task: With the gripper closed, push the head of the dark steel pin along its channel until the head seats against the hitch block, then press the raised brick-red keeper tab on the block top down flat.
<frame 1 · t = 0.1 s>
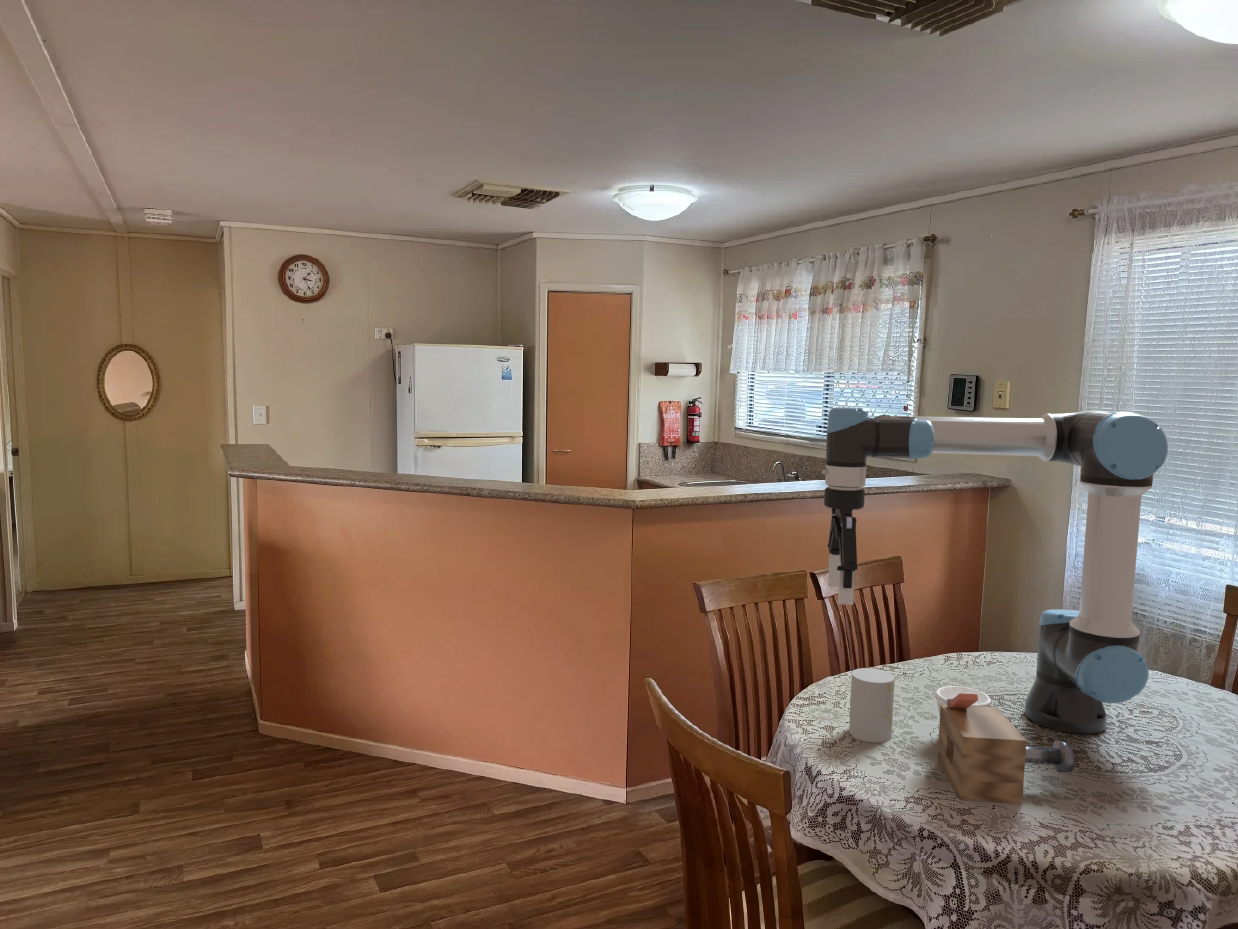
hand: (840, 595, 163), 28 cm above the table, fingers open, 13 cm apart
hitch block: (977, 781, 146), on the table
keeper tab: (962, 700, 148), point 14 cm above the table, hinge at 34.0°
cup: (870, 734, 166), on the table
hitch pin: (1023, 754, 145), point 5 cm above the table, slide at 8.0 cm
cup 2: (960, 742, 163), on the table
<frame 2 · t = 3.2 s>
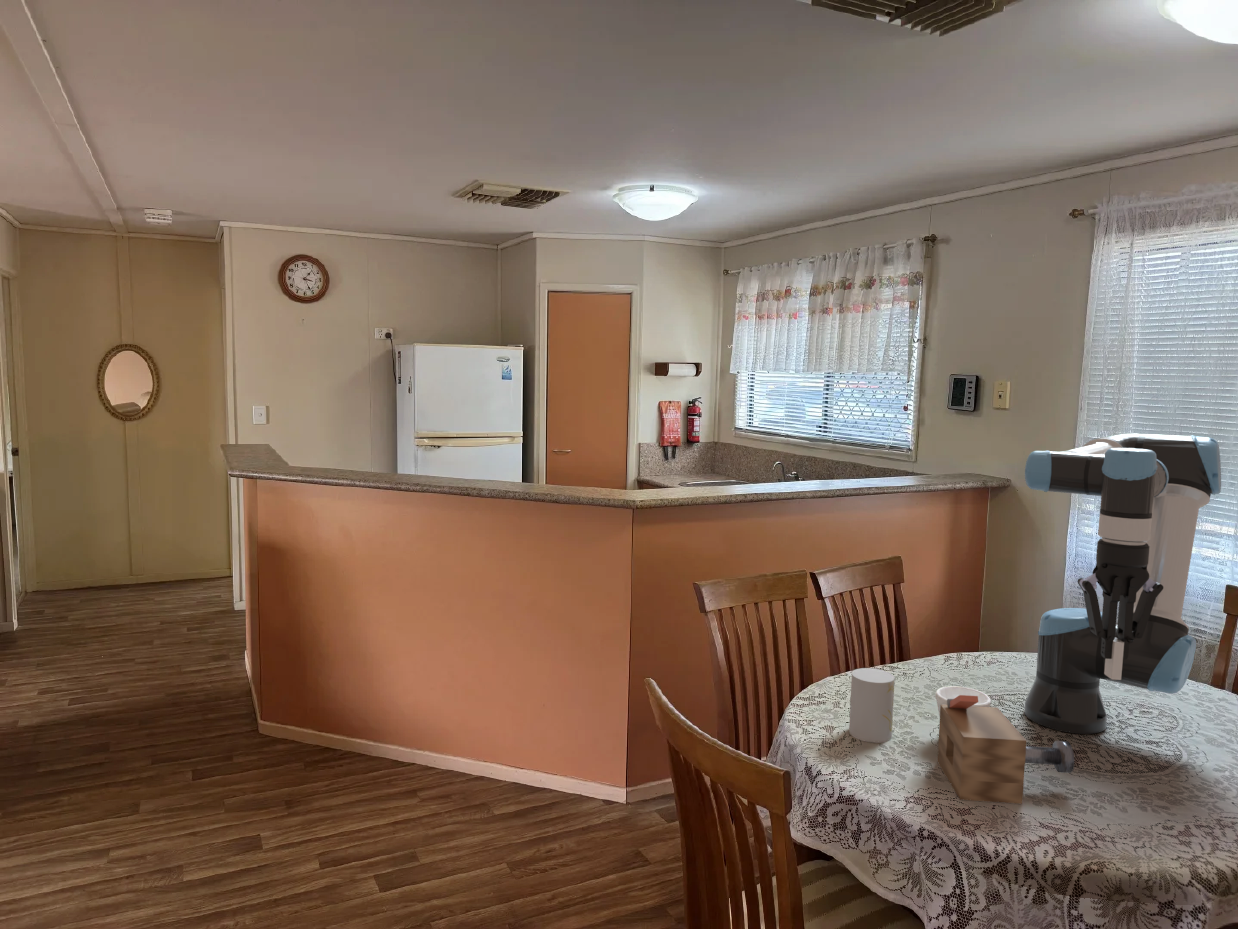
hand: (1112, 676, 142), 20 cm above the table, fingers closed
keeper tab: (962, 700, 148), point 13 cm above the table, hinge at 31.4°
everything else where it was.
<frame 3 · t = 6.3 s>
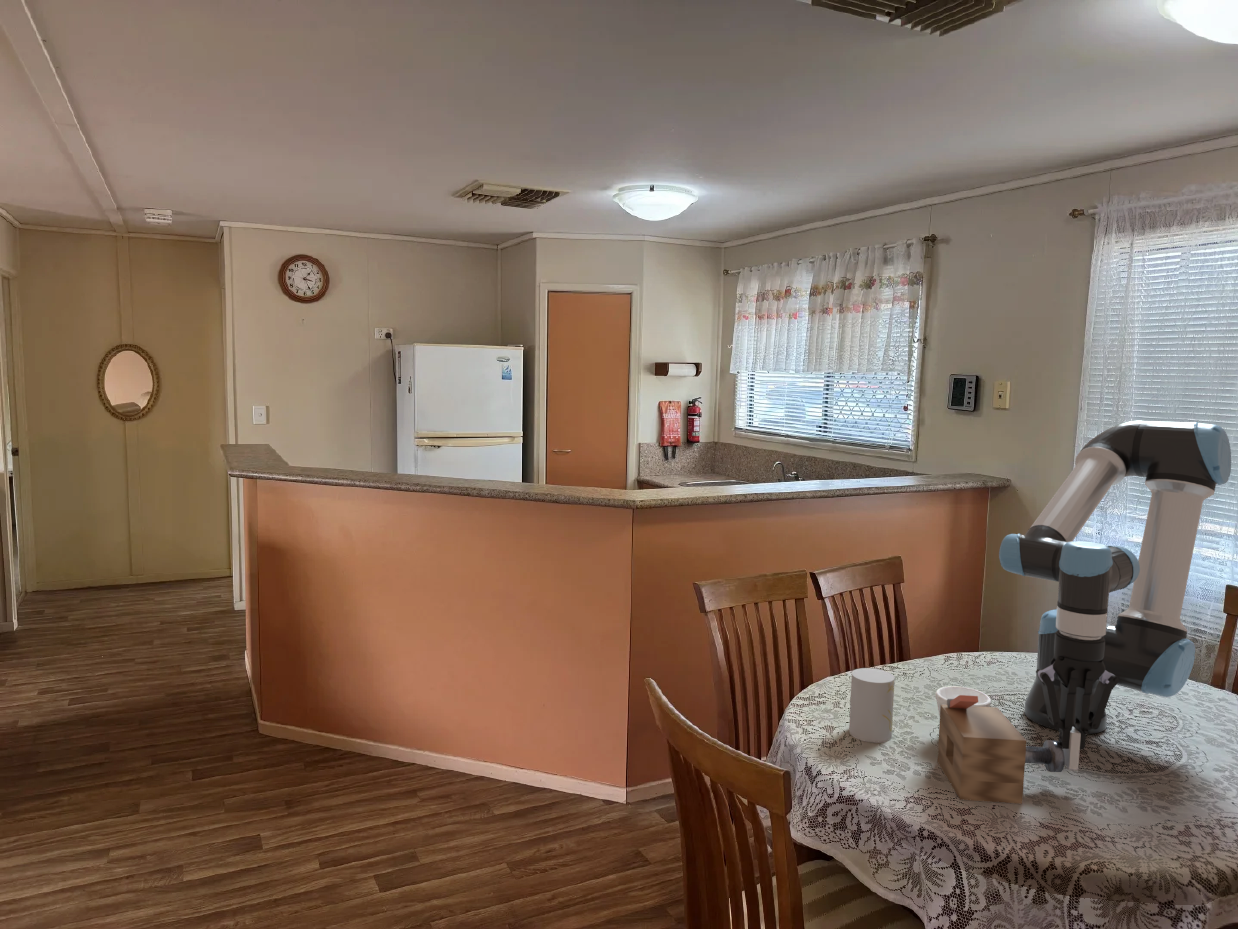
hand: (1070, 766, 144), 4 cm above the table, fingers closed
hitch pin: (1014, 754, 145), point 5 cm above the table, slide at 6.4 cm, touching gripper
everything else where it was.
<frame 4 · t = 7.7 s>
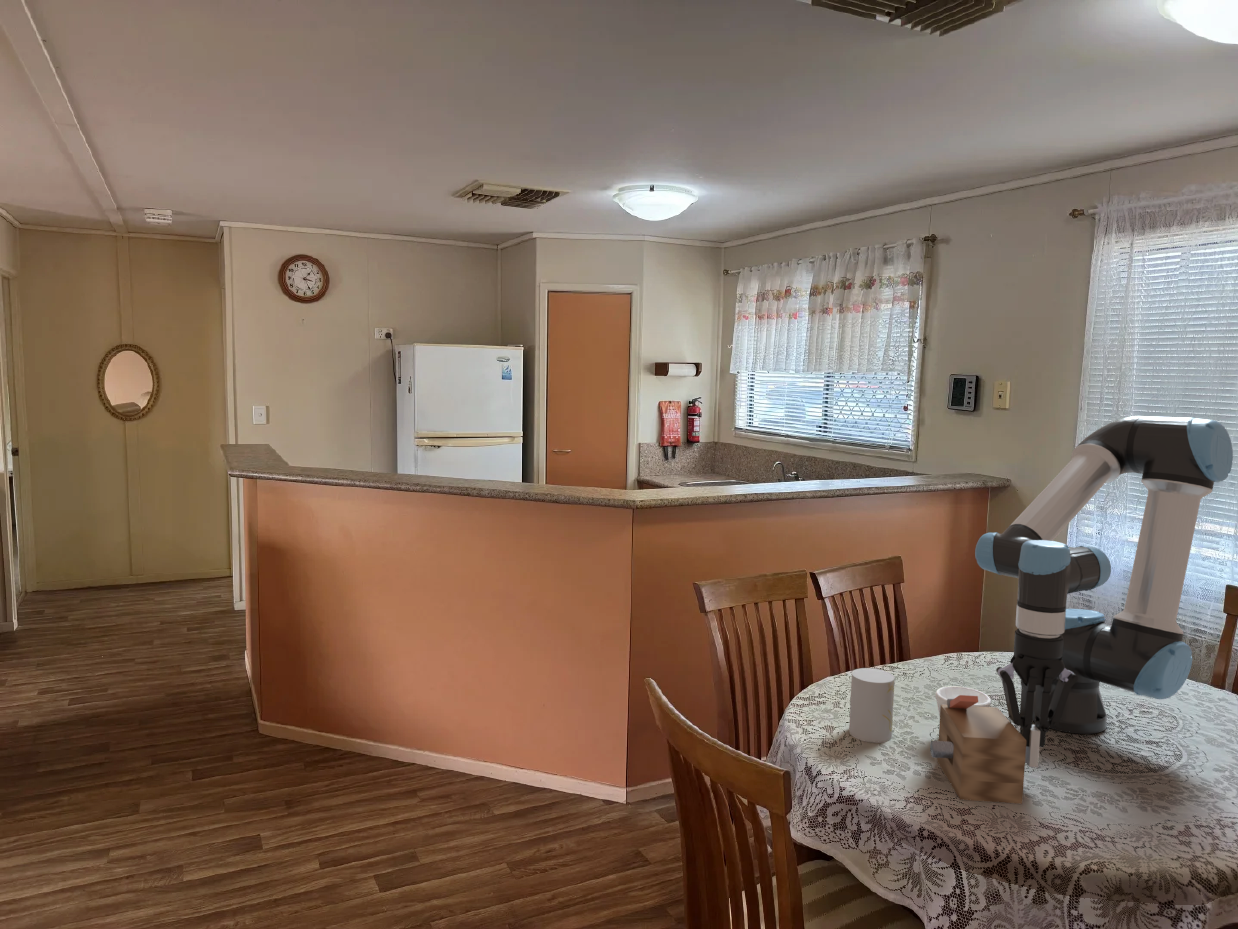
hand: (1030, 763, 145), 4 cm above the table, fingers closed
hitch pin: (975, 751, 146), point 5 cm above the table, slide at -0.1 cm, touching gripper
everything else where it was.
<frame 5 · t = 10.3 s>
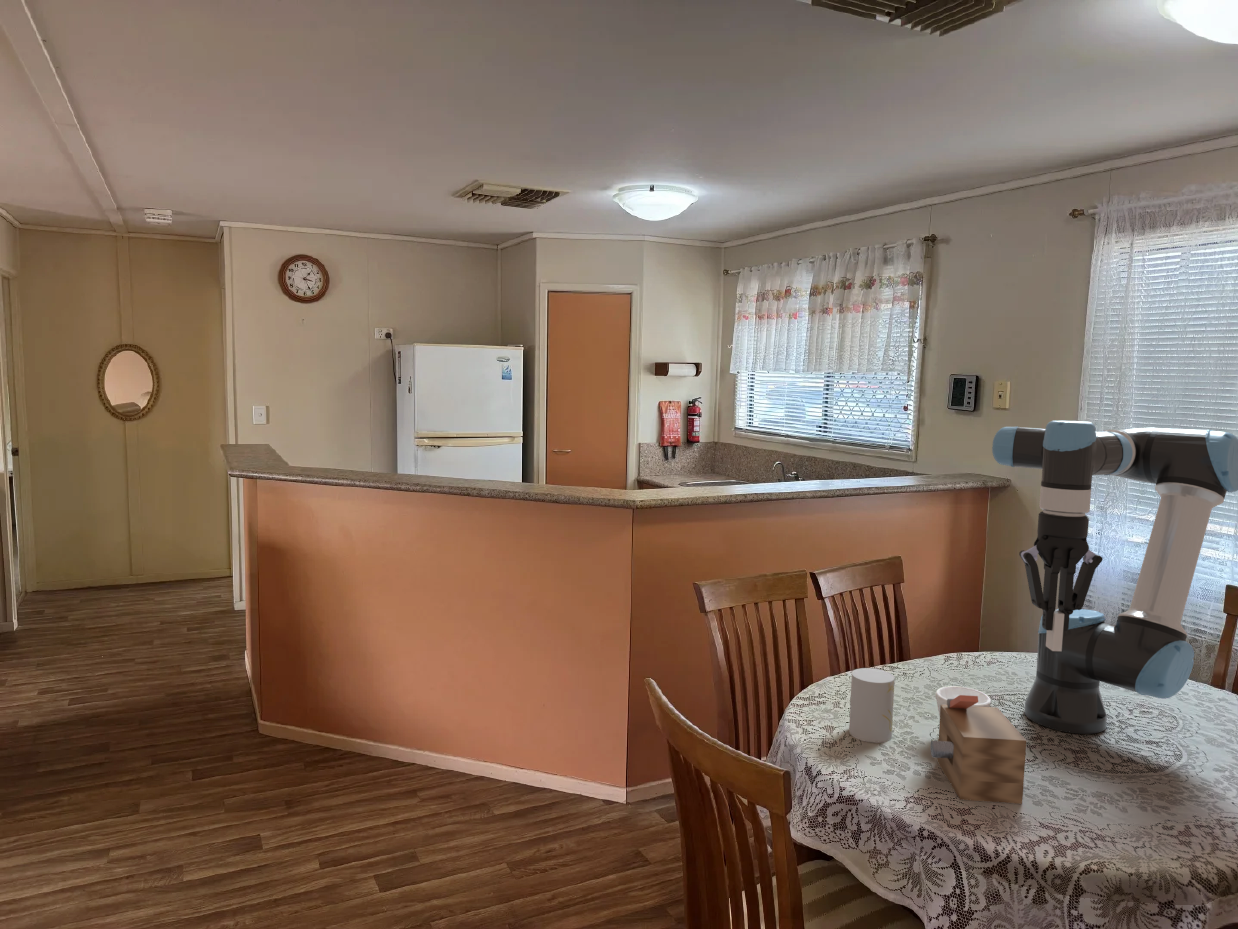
hand: (1053, 648, 143), 25 cm above the table, fingers closed
hitch pin: (975, 751, 146), point 5 cm above the table, slide at 0.0 cm
everything else where it was.
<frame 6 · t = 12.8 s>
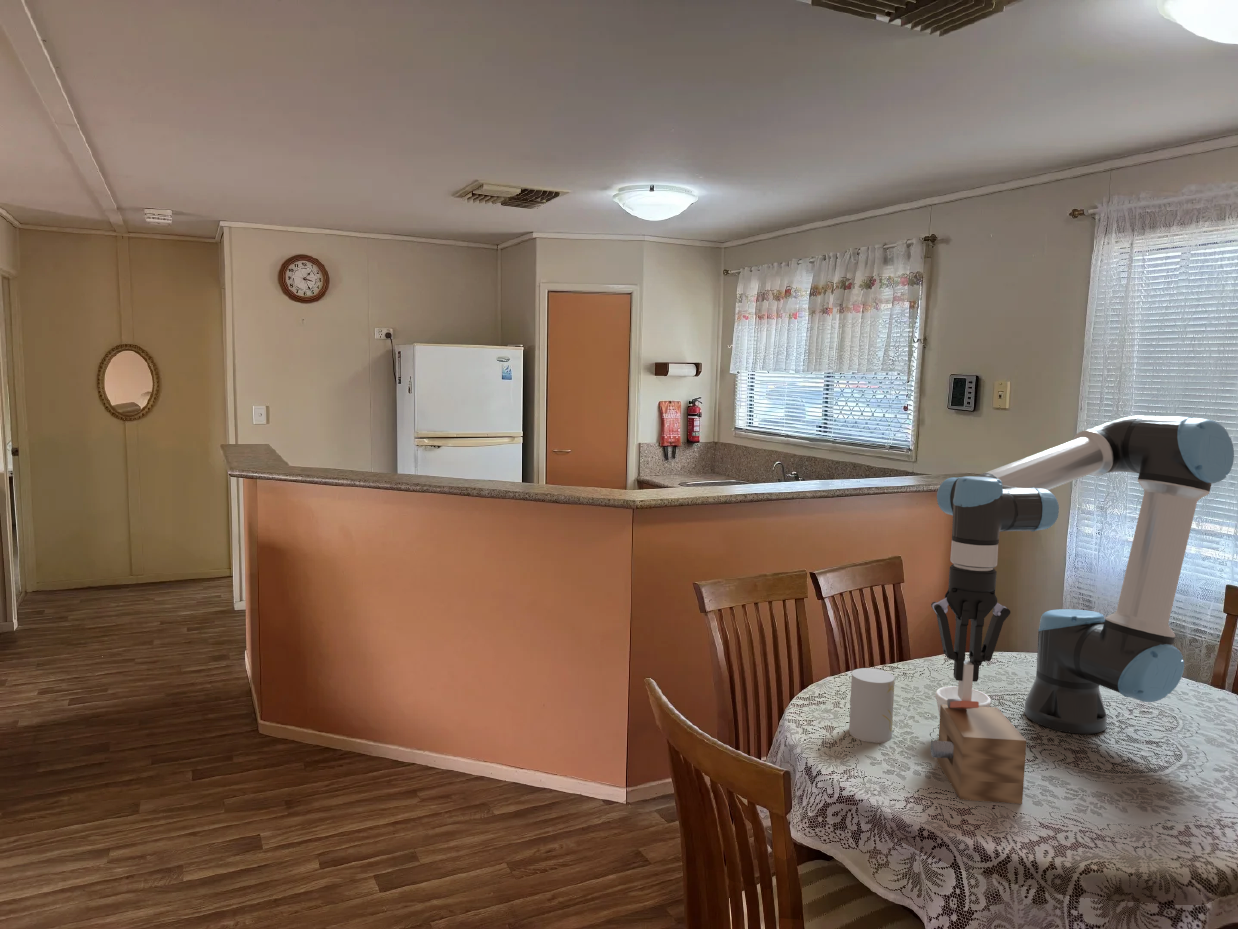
hand: (964, 698, 146), 15 cm above the table, fingers closed
keeper tab: (962, 703, 148), point 13 cm above the table, hinge at 23.6°, touching gripper
everything else where it was.
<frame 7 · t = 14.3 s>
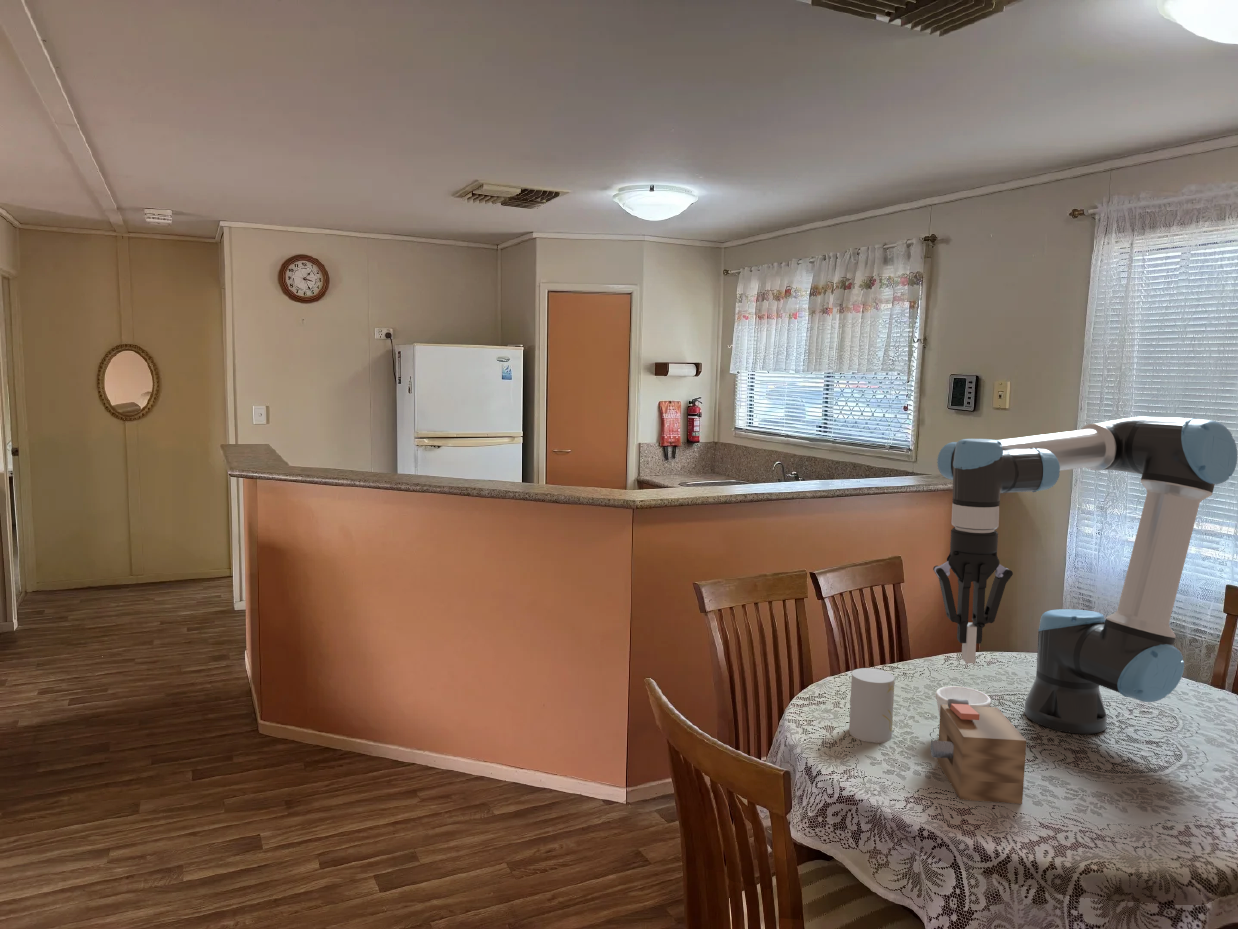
hand: (968, 660, 146), 21 cm above the table, fingers closed
keeper tab: (963, 708, 147), point 12 cm above the table, hinge at 6.6°
everything else where it was.
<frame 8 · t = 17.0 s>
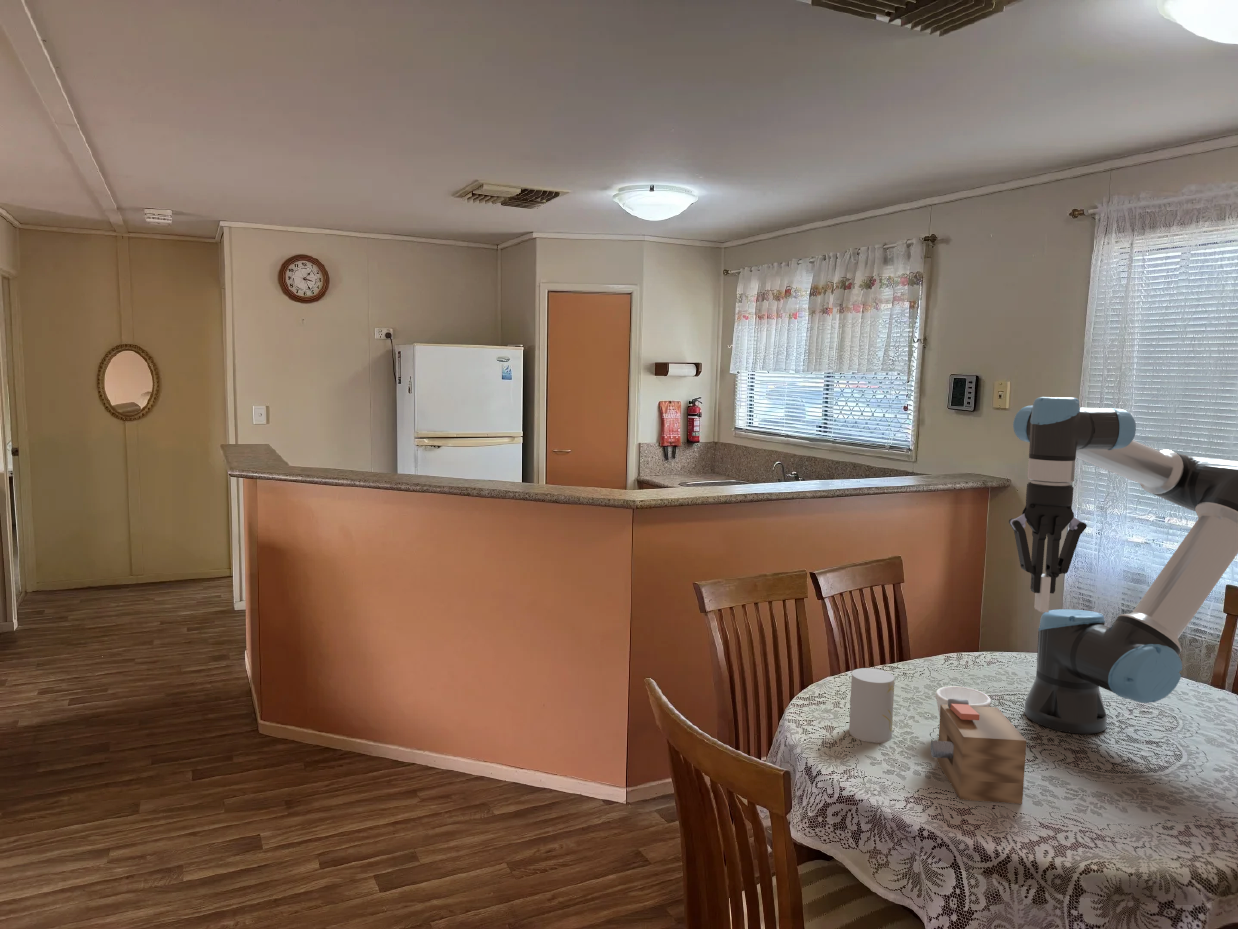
hand: (1041, 610, 153), 28 cm above the table, fingers closed
keeper tab: (963, 708, 147), point 12 cm above the table, hinge at 6.3°
everything else where it was.
at the end: hitch pin slide at 0.0 cm; keeper tab at +6° (first picture: +35°) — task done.
